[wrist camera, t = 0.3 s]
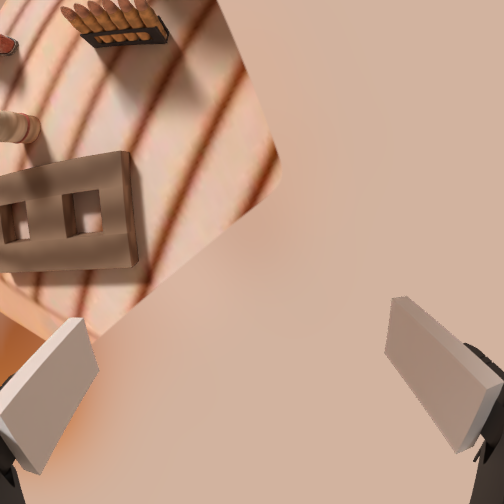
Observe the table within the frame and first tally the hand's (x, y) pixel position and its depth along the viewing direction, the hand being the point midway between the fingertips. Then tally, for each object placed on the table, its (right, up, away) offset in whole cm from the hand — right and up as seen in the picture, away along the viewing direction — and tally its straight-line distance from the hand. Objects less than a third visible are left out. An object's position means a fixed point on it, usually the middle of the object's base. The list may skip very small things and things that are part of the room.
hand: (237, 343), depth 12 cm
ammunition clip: (-15, +32, +20) cm, 40 cm away
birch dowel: (-31, +21, +22) cm, 43 cm away
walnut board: (-26, +9, +25) cm, 37 cm away
